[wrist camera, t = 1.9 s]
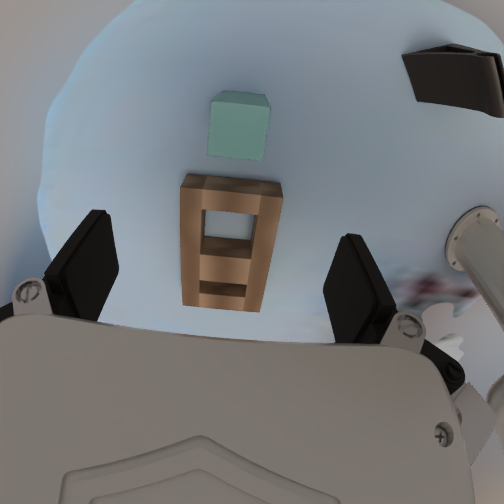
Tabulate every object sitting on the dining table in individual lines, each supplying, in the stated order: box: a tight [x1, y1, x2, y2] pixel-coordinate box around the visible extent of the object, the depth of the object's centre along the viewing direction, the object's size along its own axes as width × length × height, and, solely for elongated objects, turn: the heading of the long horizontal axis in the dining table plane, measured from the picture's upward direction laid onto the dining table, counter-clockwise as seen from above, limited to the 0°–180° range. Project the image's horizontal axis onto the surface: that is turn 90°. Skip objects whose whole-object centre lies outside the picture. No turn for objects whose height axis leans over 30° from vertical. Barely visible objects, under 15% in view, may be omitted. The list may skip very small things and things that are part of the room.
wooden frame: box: [180, 174, 283, 312], centre depth 37 cm, size 11×18×4 cm, turn 173°
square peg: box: [207, 91, 271, 161], centre depth 25 cm, size 4×4×10 cm
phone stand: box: [402, 44, 504, 118], centre depth 19 cm, size 9×6×12 cm, turn 117°
